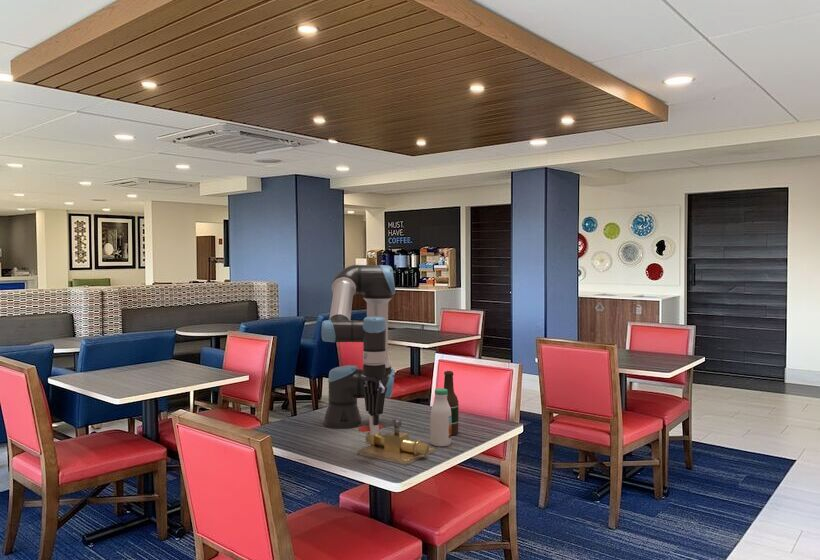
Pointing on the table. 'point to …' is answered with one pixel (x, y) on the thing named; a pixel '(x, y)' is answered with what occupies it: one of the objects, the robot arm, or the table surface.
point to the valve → (395, 447)
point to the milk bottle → (440, 419)
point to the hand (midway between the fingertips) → (374, 434)
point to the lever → (381, 425)
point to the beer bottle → (451, 400)
